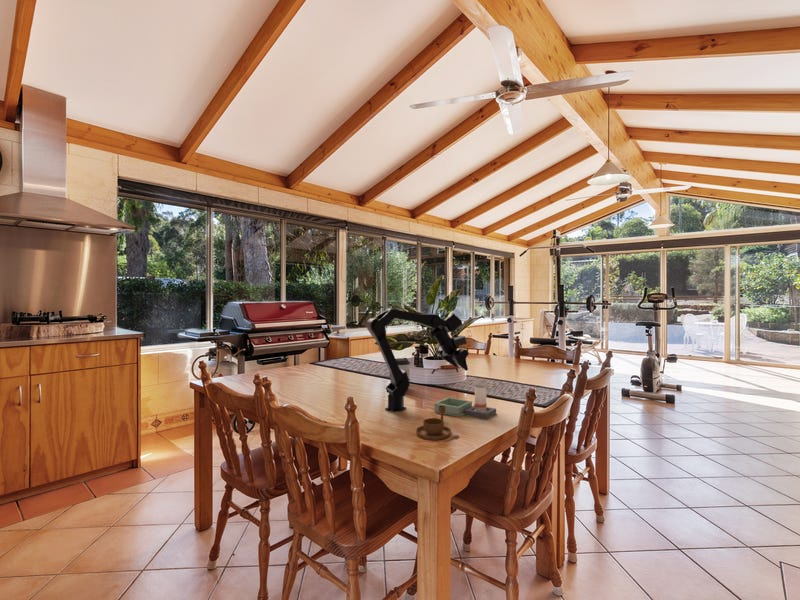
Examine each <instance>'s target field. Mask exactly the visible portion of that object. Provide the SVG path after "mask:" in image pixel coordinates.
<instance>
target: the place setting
mask: <svg viewBox="0 0 800 600" xmlns="http://www.w3.org/2000/svg"><path fill="white" fill-rule="evenodd" d="M444 413H445V406H439V414H440V418H437V417H428V418H425V419H424V420H422V421H423V422H422V425H420V426H418V427H416V429H415V433H416V435H417V436H418V437H419V438H421V439H424V440H430V441H439V440H445V439H447V440H445V442H447V443H448V442H450V441H452V440H458V438H459V437H460V436H459V435H458V434H457V435H452V436H451V434H452V429H451V428H449V426H445V422H444V418H445V417H444V415H445V414H444ZM423 430H424V431H425V432H426V433H427V435H426V434H422V433H420V432H421V431H423ZM443 431H445V432H446V433H447V434H445V435H444V434H443V435H440V434H441V433H442V432H443ZM450 436H451V438H449V437H450ZM448 438H449V439H448Z"/></svg>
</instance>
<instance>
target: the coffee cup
mask: <svg viewBox="0 0 800 600" xmlns="http://www.w3.org/2000/svg"><path fill="white" fill-rule="evenodd" d="M395 359H396V361H397V364H398V366H399V368H400V369H402V370H404V371H406V372H407V376H408V378H409V379H410V370H411V369H410V365H411V363H410V360H408V358H407V357H399V358H398V357H397V358H395Z"/></svg>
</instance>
